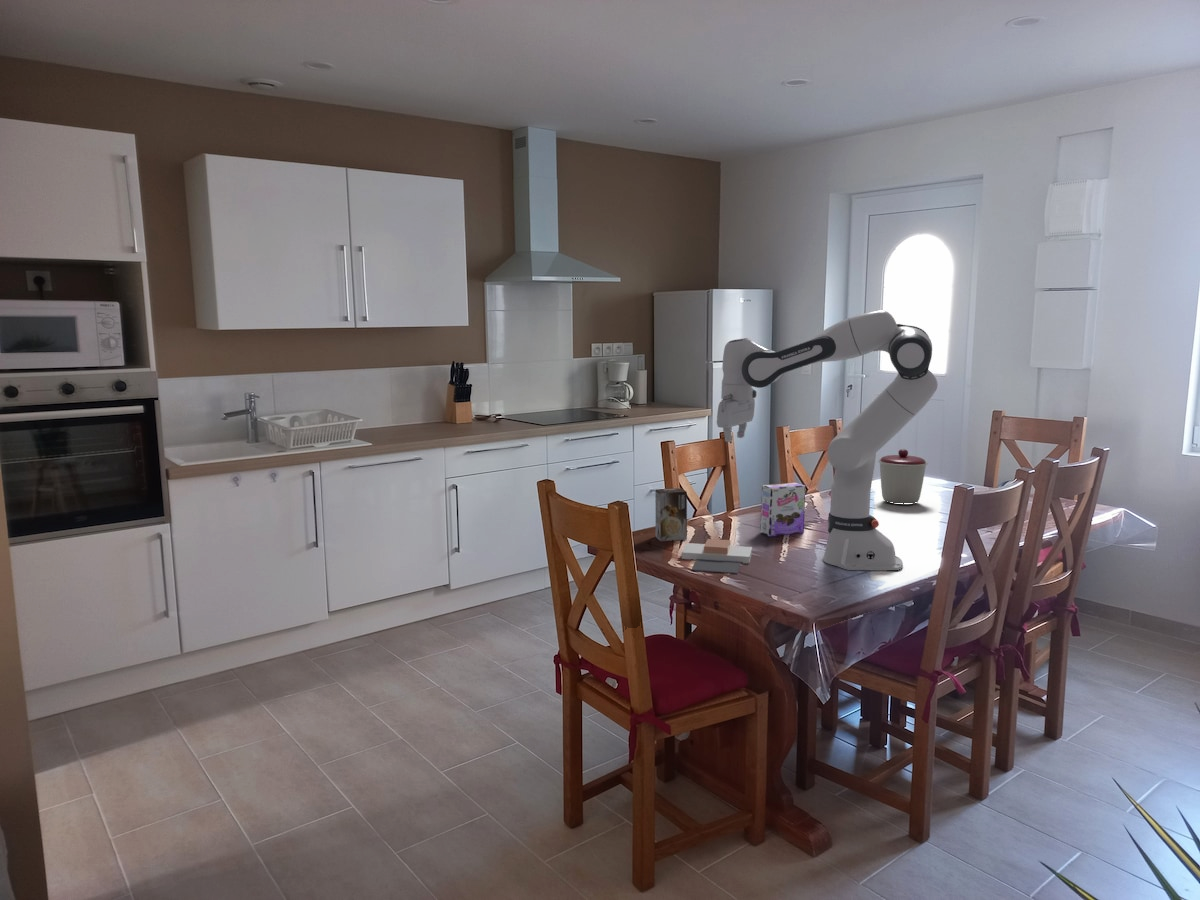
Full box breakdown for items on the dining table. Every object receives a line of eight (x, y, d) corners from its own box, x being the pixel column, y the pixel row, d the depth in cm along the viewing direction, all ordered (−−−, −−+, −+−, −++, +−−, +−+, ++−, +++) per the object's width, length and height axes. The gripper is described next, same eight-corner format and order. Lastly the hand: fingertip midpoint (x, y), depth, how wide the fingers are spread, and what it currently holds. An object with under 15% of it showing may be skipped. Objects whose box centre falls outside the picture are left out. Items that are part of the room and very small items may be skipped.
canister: (866, 499, 338) (869, 446, 335) (905, 496, 344) (908, 444, 341) (895, 509, 321) (898, 453, 318) (935, 506, 327) (938, 451, 323)
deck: (751, 553, 261) (752, 547, 261) (749, 563, 251) (749, 556, 250) (686, 549, 266) (687, 543, 266) (681, 558, 255) (681, 552, 255)
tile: (730, 546, 262) (730, 540, 261) (727, 554, 253) (727, 547, 253) (707, 545, 263) (707, 538, 263) (703, 552, 255) (704, 546, 254)
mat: (740, 563, 251) (740, 562, 251) (737, 574, 240) (737, 572, 240) (696, 560, 254) (696, 559, 254) (691, 570, 243) (691, 569, 243)
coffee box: (681, 535, 283) (682, 487, 281) (687, 540, 277) (688, 491, 274) (654, 536, 281) (655, 488, 279) (659, 541, 275) (660, 492, 273)
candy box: (769, 537, 281) (770, 487, 278) (759, 532, 286) (761, 484, 284) (804, 533, 286) (806, 484, 284) (794, 529, 291) (796, 481, 289)
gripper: (732, 397, 243) (730, 445, 245) (758, 391, 260) (756, 436, 263) (712, 395, 246) (710, 443, 249) (739, 390, 264) (737, 434, 266)
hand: (734, 439), depth 256 cm, fingers open, 8 cm apart
